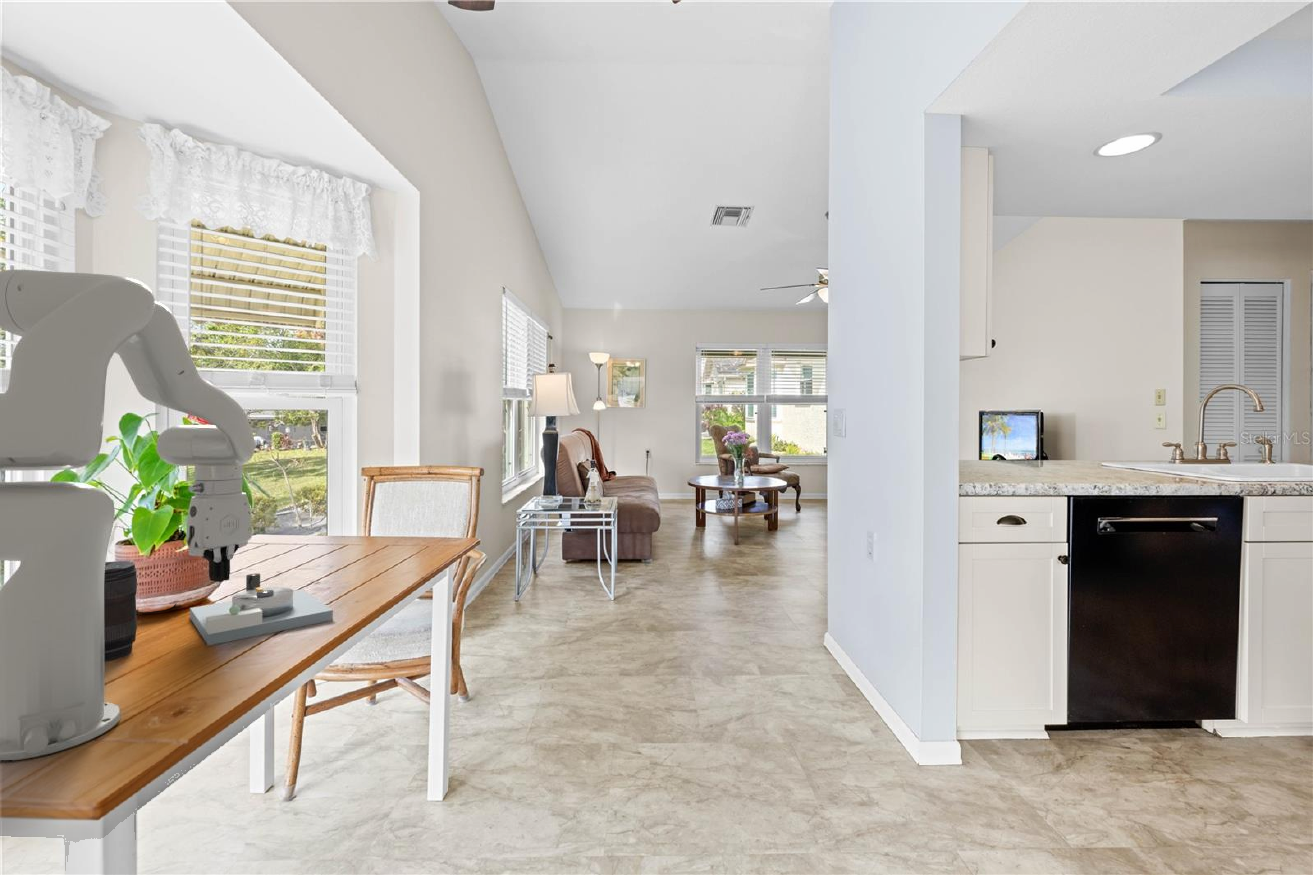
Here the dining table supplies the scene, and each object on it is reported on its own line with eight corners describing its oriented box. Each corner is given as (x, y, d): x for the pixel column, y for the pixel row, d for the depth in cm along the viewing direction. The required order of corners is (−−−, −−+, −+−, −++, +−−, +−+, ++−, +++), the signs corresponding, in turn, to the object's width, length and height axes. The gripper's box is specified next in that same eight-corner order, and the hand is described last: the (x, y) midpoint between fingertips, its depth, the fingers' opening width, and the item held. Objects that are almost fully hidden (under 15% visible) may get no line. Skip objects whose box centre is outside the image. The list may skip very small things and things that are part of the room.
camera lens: (61, 659, 97) (61, 568, 96) (124, 643, 104) (124, 558, 104) (83, 669, 93) (82, 574, 93) (146, 652, 100) (146, 564, 100)
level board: (333, 620, 118) (333, 590, 118) (208, 645, 103) (208, 611, 103) (303, 598, 132) (303, 571, 132) (189, 618, 118) (189, 588, 117)
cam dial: (299, 609, 117) (299, 583, 117) (238, 621, 110) (238, 593, 109) (279, 593, 127) (279, 569, 127) (222, 603, 120) (222, 577, 120)
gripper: (191, 494, 108) (192, 593, 109) (268, 485, 122) (269, 573, 123) (163, 491, 110) (164, 588, 111) (242, 483, 125) (242, 569, 125)
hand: (219, 580), depth 117 cm, fingers closed
